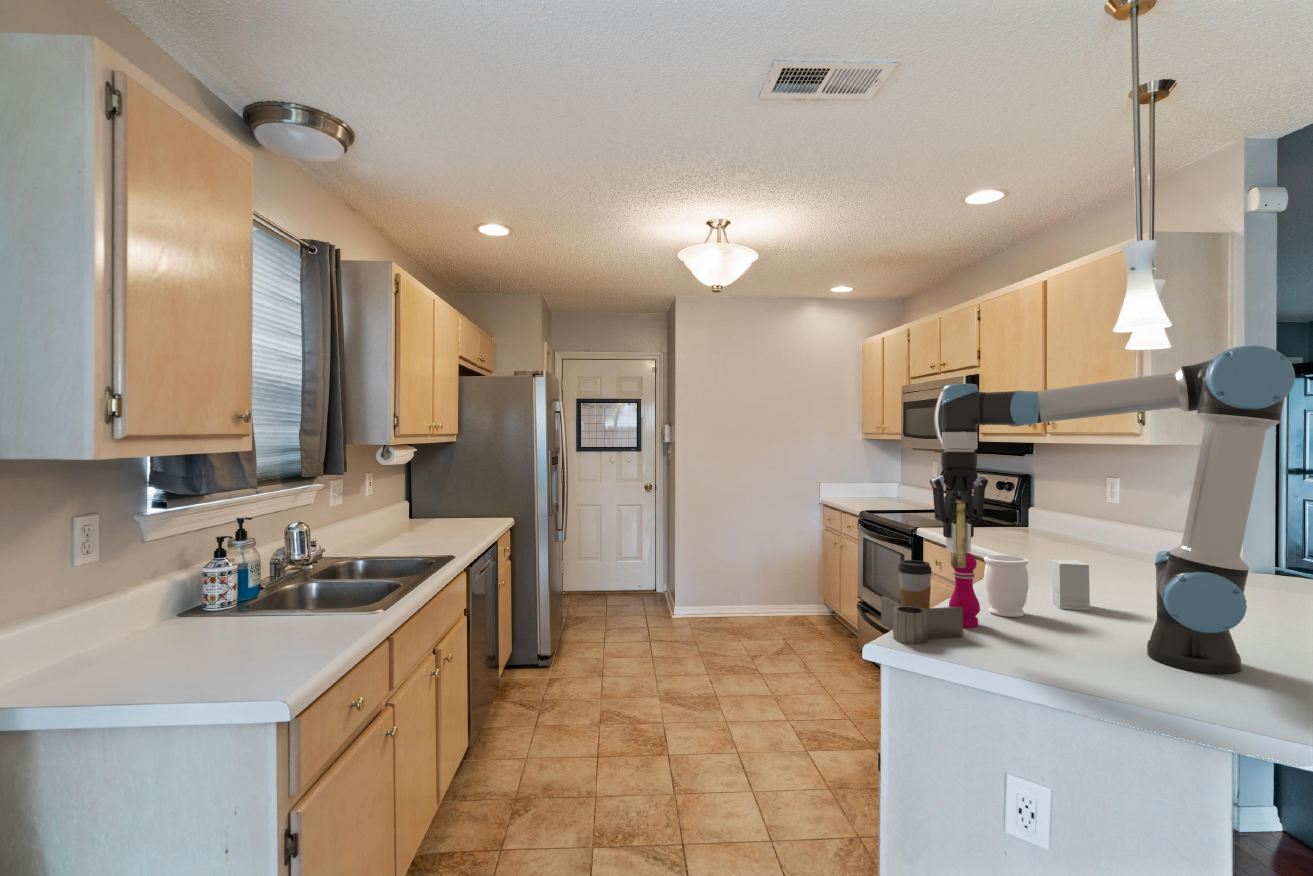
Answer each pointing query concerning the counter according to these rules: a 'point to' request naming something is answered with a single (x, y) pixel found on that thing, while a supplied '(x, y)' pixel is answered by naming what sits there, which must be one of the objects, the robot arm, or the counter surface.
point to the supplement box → (1071, 584)
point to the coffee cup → (915, 583)
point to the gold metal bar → (959, 535)
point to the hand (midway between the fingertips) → (958, 551)
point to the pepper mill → (966, 592)
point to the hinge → (921, 622)
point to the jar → (1006, 584)
